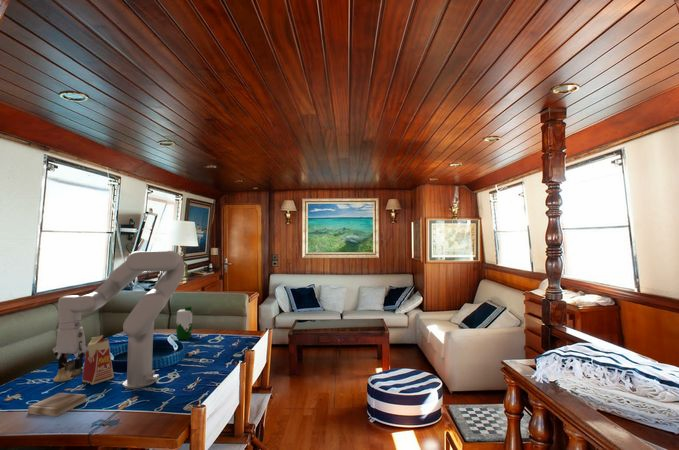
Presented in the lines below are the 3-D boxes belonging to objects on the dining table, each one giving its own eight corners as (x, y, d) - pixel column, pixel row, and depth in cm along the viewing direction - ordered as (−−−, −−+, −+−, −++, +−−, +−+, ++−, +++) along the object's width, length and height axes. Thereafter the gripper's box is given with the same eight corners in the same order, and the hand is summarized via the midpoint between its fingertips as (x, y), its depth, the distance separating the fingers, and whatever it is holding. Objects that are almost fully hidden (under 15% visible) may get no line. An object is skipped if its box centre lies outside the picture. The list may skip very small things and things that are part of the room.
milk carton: (114, 377, 161) (115, 333, 162) (92, 385, 153) (94, 338, 154) (101, 374, 165) (102, 331, 166) (80, 381, 157) (81, 336, 158)
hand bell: (63, 382, 156) (64, 345, 156) (48, 381, 157) (49, 344, 158) (80, 375, 164) (81, 340, 164) (65, 374, 165) (67, 339, 166)
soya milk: (190, 339, 224) (191, 307, 225) (175, 340, 222) (175, 308, 223) (192, 336, 233) (193, 305, 234) (177, 337, 230) (178, 306, 231)
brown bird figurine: (55, 373, 145) (58, 374, 139) (67, 355, 149) (70, 355, 143) (75, 378, 149) (79, 380, 143) (85, 361, 153) (90, 362, 147)
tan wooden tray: (85, 401, 137) (86, 394, 137) (56, 416, 125) (56, 408, 125) (59, 399, 139) (59, 392, 139) (27, 413, 127) (28, 406, 127)
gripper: (95, 323, 150) (96, 365, 149) (60, 323, 153) (61, 364, 152) (80, 327, 143) (80, 371, 142) (43, 327, 145) (44, 371, 145)
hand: (70, 367), depth 147 cm, fingers closed on brown bird figurine, 7 cm apart
